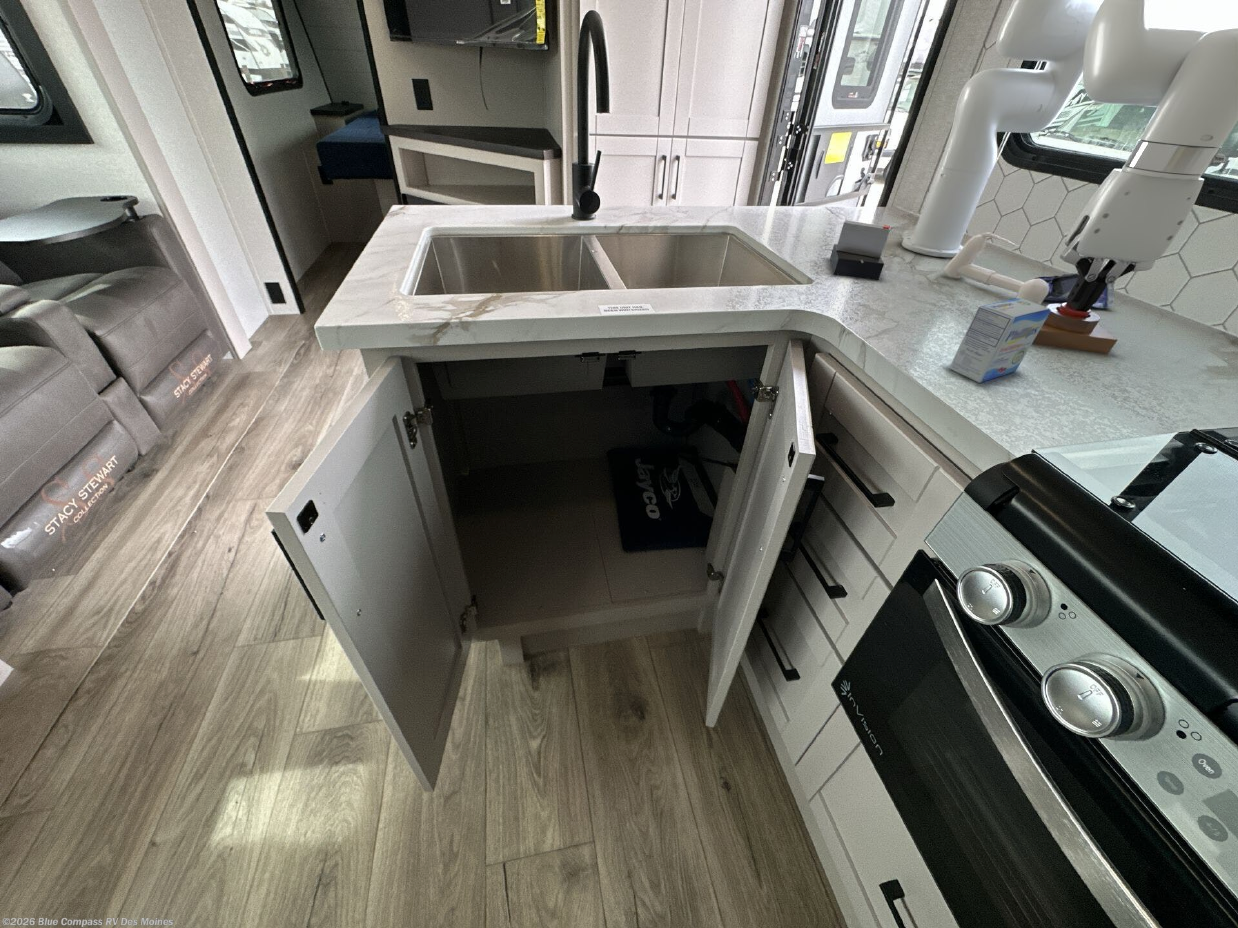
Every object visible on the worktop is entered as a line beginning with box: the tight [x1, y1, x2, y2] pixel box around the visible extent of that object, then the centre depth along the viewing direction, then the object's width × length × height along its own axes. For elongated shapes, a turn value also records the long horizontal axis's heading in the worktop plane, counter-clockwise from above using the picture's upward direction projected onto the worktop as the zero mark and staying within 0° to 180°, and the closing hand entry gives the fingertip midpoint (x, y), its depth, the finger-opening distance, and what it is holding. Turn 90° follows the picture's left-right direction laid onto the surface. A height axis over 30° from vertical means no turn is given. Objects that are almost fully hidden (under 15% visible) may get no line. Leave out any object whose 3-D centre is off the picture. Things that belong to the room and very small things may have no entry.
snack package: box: [1034, 272, 1116, 310], centre depth 89 cm, size 12×6×12 cm
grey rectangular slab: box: [836, 219, 892, 258], centre depth 95 cm, size 8×2×5 cm, turn 61°
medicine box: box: [948, 297, 1051, 384], centre depth 64 cm, size 8×4×9 cm, turn 117°
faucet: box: [944, 232, 1049, 305], centre depth 90 cm, size 4×18×10 cm, turn 25°
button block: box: [1031, 303, 1118, 355], centre depth 75 cm, size 8×10×4 cm
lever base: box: [824, 243, 893, 281], centre depth 98 cm, size 12×12×3 cm
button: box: [1058, 302, 1092, 318], centre depth 74 cm, size 4×4×2 cm
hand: (1076, 307), depth 74 cm, fingers closed
